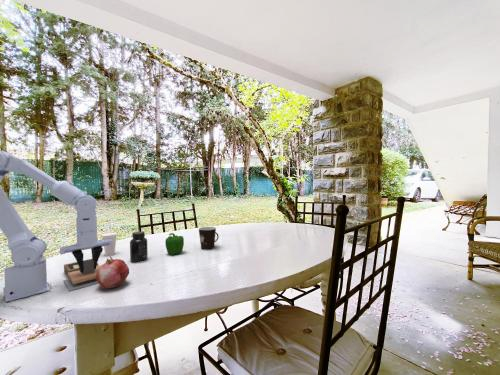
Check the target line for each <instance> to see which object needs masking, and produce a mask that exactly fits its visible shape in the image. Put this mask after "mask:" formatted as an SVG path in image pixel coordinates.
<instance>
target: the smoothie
mask: <svg viewBox="0 0 500 375" xmlns="http://www.w3.org/2000/svg"><path fill="white" fill-rule="evenodd" d="M117 236H118V233H117V232H112V225H111V224H109V232H107V233H103V234H101V238H102V240H108V239H111V240H112V245H110V246H109V245H108V246H103V251H104V256H106V257H108V256H109V257H110V256H111V257H112V256H114V255H115V252H116V247H117V246H116V244H117Z"/></svg>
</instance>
